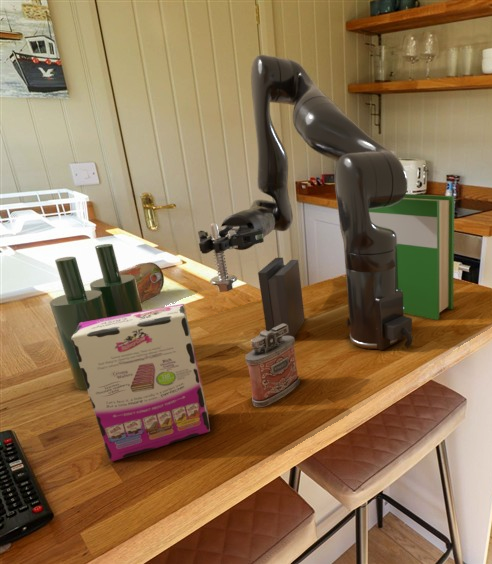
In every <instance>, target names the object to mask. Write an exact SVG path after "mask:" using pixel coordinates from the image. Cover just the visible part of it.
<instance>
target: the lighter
mask: <svg viewBox="0 0 492 564" xmlns="http://www.w3.org/2000/svg"><path fill="white" fill-rule="evenodd" d="M288 332H289V331H288V325H286V324H281V325H279V326H277V327H274V328H272V330H270V331H266V329H263V330H261V331H259V334H258V336H255V337H254V338H252V339H250V343H251V347H252V350H251V351H249V352H248V353H247V354H245V356H244V359H245V362H246V364H247V368H248V374H249V380H250V387H251V392H252V397H251V401H252V405H253V406H254V407H257V408H264V407H267V406H269V405H271V404H273V403H275V402H278V401H279V400H280V399H282V398H284V397H285V396H286V395H288V394H289V393H291V392H292V391H293V390H295V389H296V387H298V386H299V385H300V382H301V381H300V376H299V375H298V367H297V360H296V350H295V344H296V341H295V339H296V338H295V336H294V337H292V336H282V335H284V334H286V333H288Z"/></svg>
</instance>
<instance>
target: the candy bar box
mask: <svg viewBox="0 0 492 564" xmlns="http://www.w3.org/2000/svg"><path fill="white" fill-rule="evenodd" d="M71 340H72V344H73V347H74V350H75V353H76V356H77V359H78V362H79V365H80V368H81V371H82V374H83V377H84V381H85V384H86V387H87V390H86V391H87V393H88V397H89V401H90V402H91V406H92V409H93V413H94V415H95V419H96V421H97V422H96V423H97V425H98V428H99V431H100V434H101V437H102V440H103V443H104V447H105V450H106V454H107V457H108V460H109V461H110V462H116V461H119V460H123V459H126V458H129V457H132V456H136V455H139V454H142V453H145V452H149V451H151V450H156V449H159V448H163V447H166V446H169V445H172V444H174V443H178V442H181V441H185V440H188V439H191V438H194V437H198V436H200V435H204V434H207V433H209V432H211V428H210V420H209V412H208V406H207V401H206V397H205V393H204V388H203V387H204V386H203V383H202V379H201V375H200V374H201V373H200V370H199V366H198V361H197V357H196V352H195V347H194V341H193V338H192V334H191V330H190V326H189V321H188V316H187V312H186V307H185V303H180V304H175V305H169V306H163V307H157V308H152V309H146V310H143V311H141V312H135V313H130V314H125V315H119V316H114V317H109V318H103V319H98V320H92V321H87V322H81V323H79V325H78V327H77V330H76V331H75V333H74V334H73V336H72V338H71Z"/></svg>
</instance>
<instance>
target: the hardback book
mask: <svg viewBox="0 0 492 564" xmlns="http://www.w3.org/2000/svg"><path fill="white" fill-rule="evenodd" d="M369 214H370V219H371V222H372V223H373V224H375V225H377V226H380V227H385V228H389V229H391V230H393V231H394V232H395V233H396V236H397V257H398V289H399V290H402V291H403V307H404V309H403V311H404V314H407V315H412V316H417V317H420V318H426V319H431V320H434V321H439V320H440V313H442V312H443V311H444V310H445V309H446V310H453V309H454V268H455V267H454V265H455V263H454V262H455V261H454V260H455V258H454V257H455V196H453V195H434V194H433V195H432V194H414V193H413V194H412V193H406V194H405V196H404V198H403V199H402V200H401V201H400V202H399V203H397V204H394V205H392V206H388V207H382V208H375V209H369Z"/></svg>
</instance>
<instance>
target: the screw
mask: <svg viewBox="0 0 492 564" xmlns="http://www.w3.org/2000/svg"><path fill="white" fill-rule="evenodd" d="M218 229H219V226H218V224H217V223H215V222H212V223H210V234H211V235H212V236H211V237H212V239H211V240H212V244H213V250H212V251H213V256H214V258H213V259H214V260H215V261H214V262H215V266H216V267H215V268H216V271H217V273H216V274H217V275H216V276H214V277H212V278H210V280H209V284H210V285H212V286H216V288H217V291H218V292H219V293H225V292H230V291H232V290H233V289H234V287H233V284H234V283H235V282H237V280H238V277H237V276H236V275H234V274H228V270H227V268H228V267H227V263H226V257H225V251H223V252H222V253H216V252H215V247H214V242H215V241H216V240H218V239H220V238H221V236H219V230H218Z"/></svg>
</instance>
